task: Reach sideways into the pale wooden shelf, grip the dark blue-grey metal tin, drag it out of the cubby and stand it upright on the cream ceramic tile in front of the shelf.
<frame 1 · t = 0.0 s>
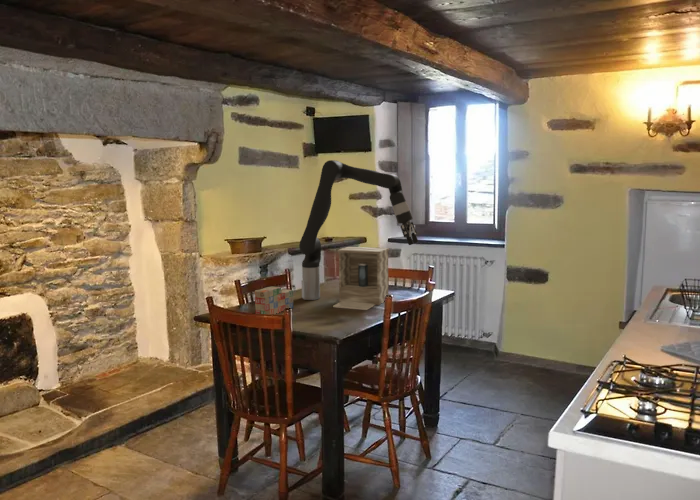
hand: (413, 243, 280), 31 cm above the table, tool tilted 20°, fingers open, 8 cm apart
tile: (354, 306, 286), on the table
tin: (363, 285, 297), point 8 cm above the table, touching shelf
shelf: (364, 300, 299), on the table
stack of blocks: (274, 312, 276), on the table
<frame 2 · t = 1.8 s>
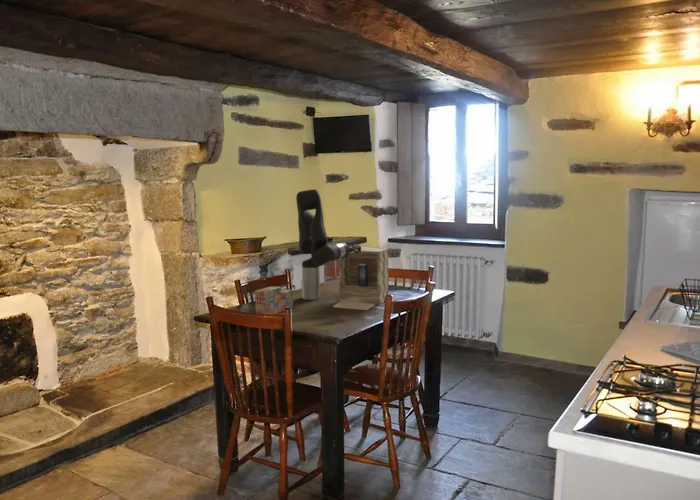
hand: (350, 247, 279), 30 cm above the table, tool horizontal, fingers open, 8 cm apart
nothing on the table moved.
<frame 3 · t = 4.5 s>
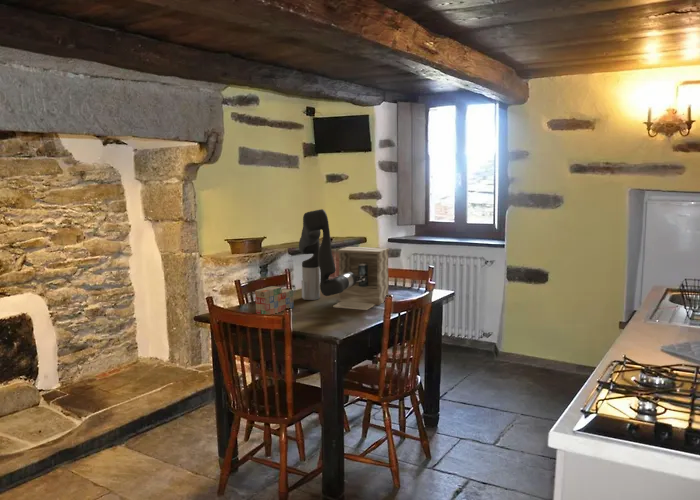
hand: (358, 275, 290), 15 cm above the table, tool horizontal, fingers open, 8 cm apart
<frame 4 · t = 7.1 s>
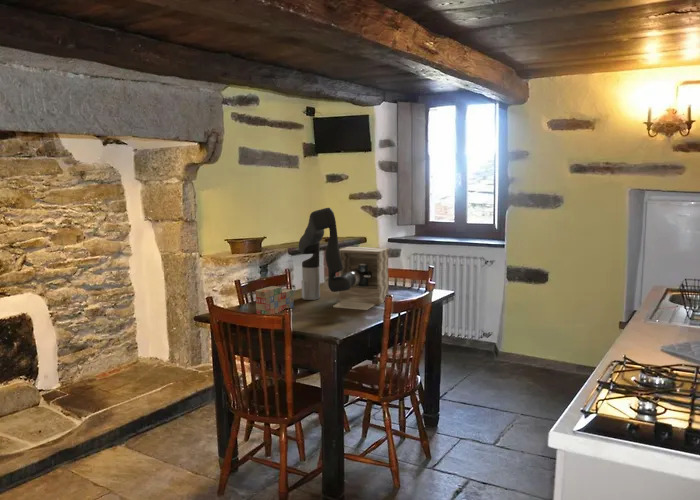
hand: (365, 272, 298), 15 cm above the table, tool horizontal, fingers closed on tin, 5 cm apart
tin: (363, 285, 297), point 8 cm above the table, touching gripper, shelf
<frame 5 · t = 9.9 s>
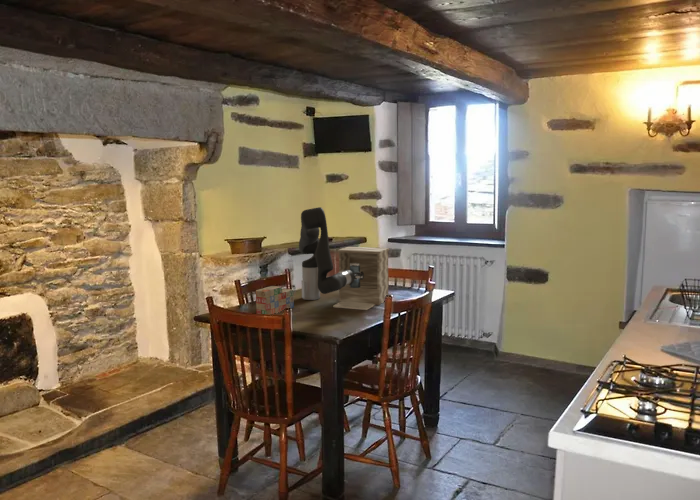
hand: (356, 273, 288), 16 cm above the table, tool horizontal, fingers closed on tin, 5 cm apart
tin: (355, 287, 286), point 9 cm above the table, touching gripper
when the fingers open (9 cm above the table, at t = 13.0 s): tin drops 1 cm, resting on tile.
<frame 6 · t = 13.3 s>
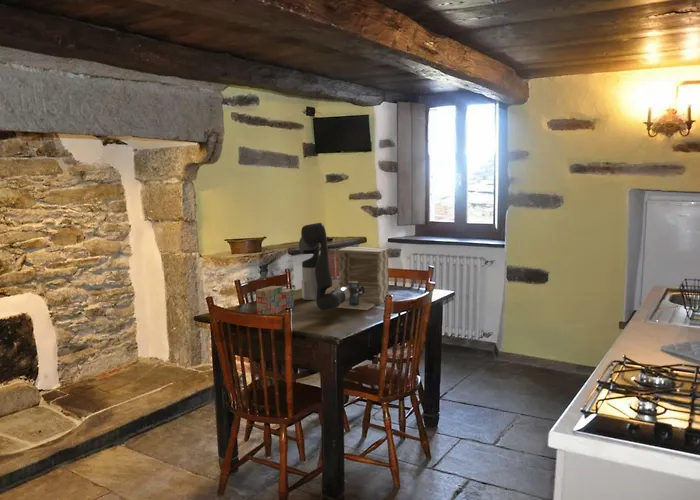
hand: (355, 288, 287), 9 cm above the table, tool horizontal, fingers open, 7 cm apart
tin: (354, 304, 286), point 1 cm above the table, touching tile
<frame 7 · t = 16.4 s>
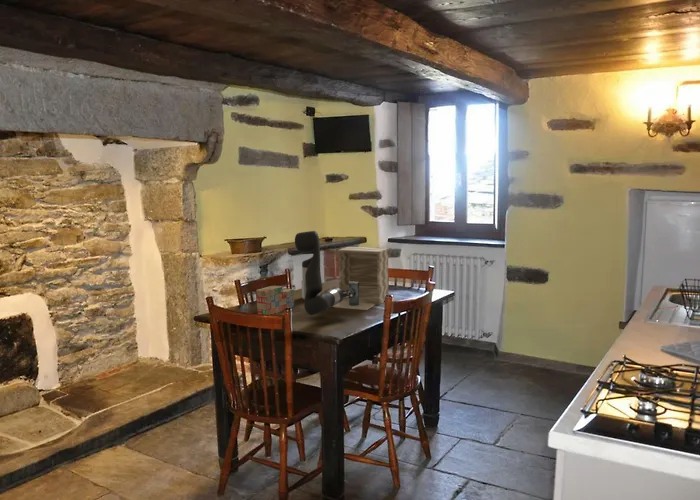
hand: (346, 290, 276), 10 cm above the table, tool horizontal, fingers open, 8 cm apart
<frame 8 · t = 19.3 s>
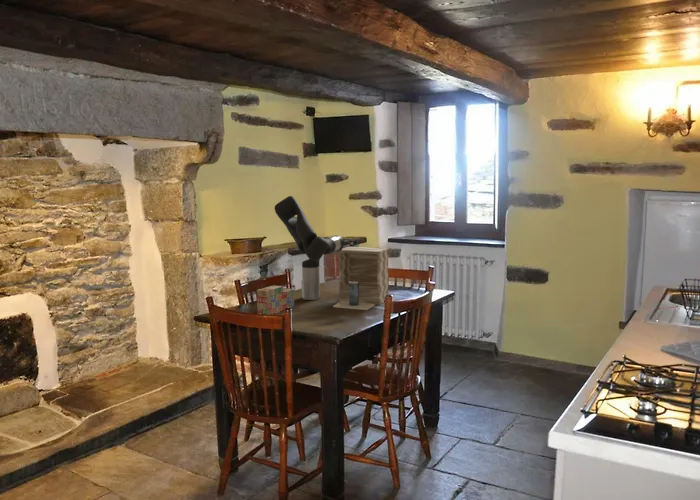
hand: (346, 240, 274), 34 cm above the table, tool horizontal, fingers open, 8 cm apart
at the end: tin inside the target area on the tile (0.1 cm from its centre), point 0.8 cm above the tile's base; tin tilted 0°; the gripper is holding nothing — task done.
